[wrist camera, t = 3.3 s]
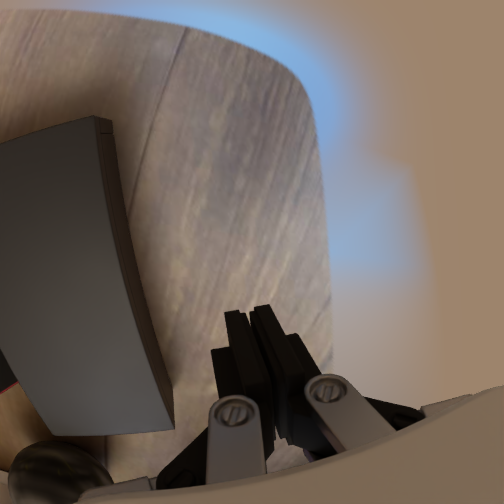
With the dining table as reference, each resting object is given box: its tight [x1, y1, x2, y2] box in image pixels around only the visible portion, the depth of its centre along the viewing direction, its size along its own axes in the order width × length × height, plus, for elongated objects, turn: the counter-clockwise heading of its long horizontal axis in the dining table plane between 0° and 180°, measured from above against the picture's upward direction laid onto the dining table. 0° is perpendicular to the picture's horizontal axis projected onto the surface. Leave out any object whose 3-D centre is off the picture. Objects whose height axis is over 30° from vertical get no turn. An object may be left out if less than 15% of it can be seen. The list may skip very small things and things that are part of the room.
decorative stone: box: [8, 441, 114, 504], centre depth 17 cm, size 10×10×10 cm
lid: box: [0, 115, 175, 436], centre depth 15 cm, size 18×9×4 cm, turn 5°
